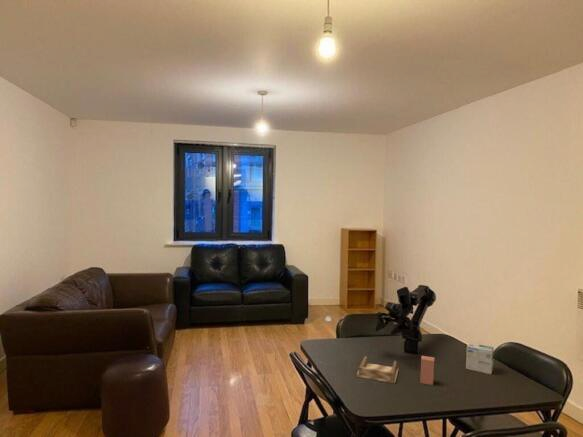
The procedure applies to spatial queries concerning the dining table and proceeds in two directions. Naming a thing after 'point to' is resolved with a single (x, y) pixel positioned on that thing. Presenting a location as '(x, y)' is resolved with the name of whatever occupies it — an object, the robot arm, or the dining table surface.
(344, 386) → the dining table surface
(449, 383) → the dining table surface
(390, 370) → the rack
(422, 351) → the dining table surface
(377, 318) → the robot arm
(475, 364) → the light bulb box
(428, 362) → the pink rectangular block
